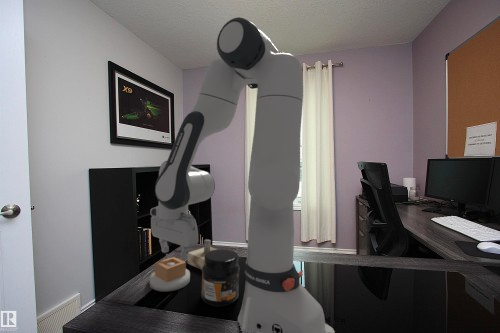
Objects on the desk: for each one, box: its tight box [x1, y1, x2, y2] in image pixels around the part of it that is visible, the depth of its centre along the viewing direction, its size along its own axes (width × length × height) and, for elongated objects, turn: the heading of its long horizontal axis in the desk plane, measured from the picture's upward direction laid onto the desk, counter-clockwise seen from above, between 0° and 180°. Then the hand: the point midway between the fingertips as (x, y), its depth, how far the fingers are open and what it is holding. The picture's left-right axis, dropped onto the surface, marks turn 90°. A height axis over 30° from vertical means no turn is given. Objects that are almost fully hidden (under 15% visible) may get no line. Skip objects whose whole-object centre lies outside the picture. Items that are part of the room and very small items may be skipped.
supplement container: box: [201, 248, 241, 308], centre depth 66 cm, size 10×10×12 cm
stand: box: [186, 239, 217, 271], centre depth 89 cm, size 10×10×8 cm
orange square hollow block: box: [154, 256, 187, 282], centre depth 74 cm, size 7×7×4 cm
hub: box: [149, 262, 191, 292], centre depth 74 cm, size 12×12×6 cm
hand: (173, 255), depth 74 cm, fingers open, 8 cm apart
